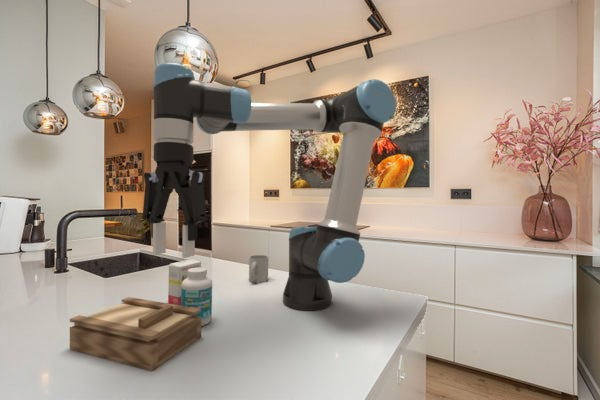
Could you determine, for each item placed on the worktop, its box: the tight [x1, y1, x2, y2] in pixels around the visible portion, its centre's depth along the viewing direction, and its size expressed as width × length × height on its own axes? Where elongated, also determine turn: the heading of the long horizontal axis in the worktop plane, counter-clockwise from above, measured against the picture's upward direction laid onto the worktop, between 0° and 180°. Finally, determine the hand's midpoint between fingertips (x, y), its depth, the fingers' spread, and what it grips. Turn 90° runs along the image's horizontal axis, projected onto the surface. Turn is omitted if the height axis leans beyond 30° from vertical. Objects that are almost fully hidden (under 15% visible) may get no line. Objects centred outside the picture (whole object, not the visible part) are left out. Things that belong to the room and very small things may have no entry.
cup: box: [248, 254, 269, 284], centre depth 110 cm, size 7×10×9 cm
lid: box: [73, 302, 192, 342], centre depth 65 cm, size 20×12×3 cm, turn 71°
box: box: [69, 296, 202, 372], centre depth 64 cm, size 22×14×6 cm, turn 71°
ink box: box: [167, 259, 202, 306], centre depth 90 cm, size 9×5×12 cm, turn 151°
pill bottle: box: [181, 267, 213, 327], centre depth 75 cm, size 8×7×14 cm
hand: (173, 254), depth 61 cm, fingers open, 7 cm apart
